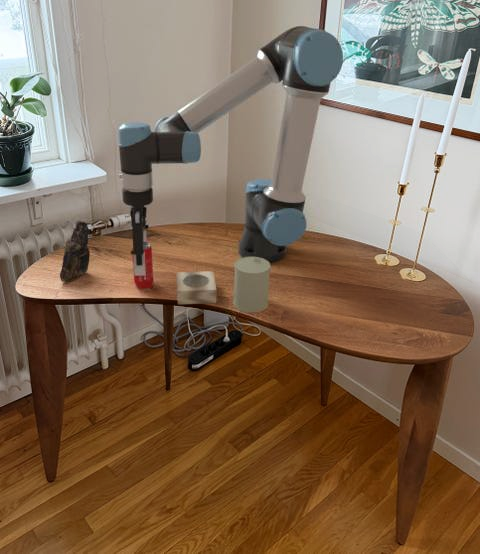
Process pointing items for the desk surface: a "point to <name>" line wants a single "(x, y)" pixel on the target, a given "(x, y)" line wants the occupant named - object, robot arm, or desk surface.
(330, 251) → the desk surface
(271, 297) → the desk surface
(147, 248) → the beverage can
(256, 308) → the can
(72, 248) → the statue
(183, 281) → the base
